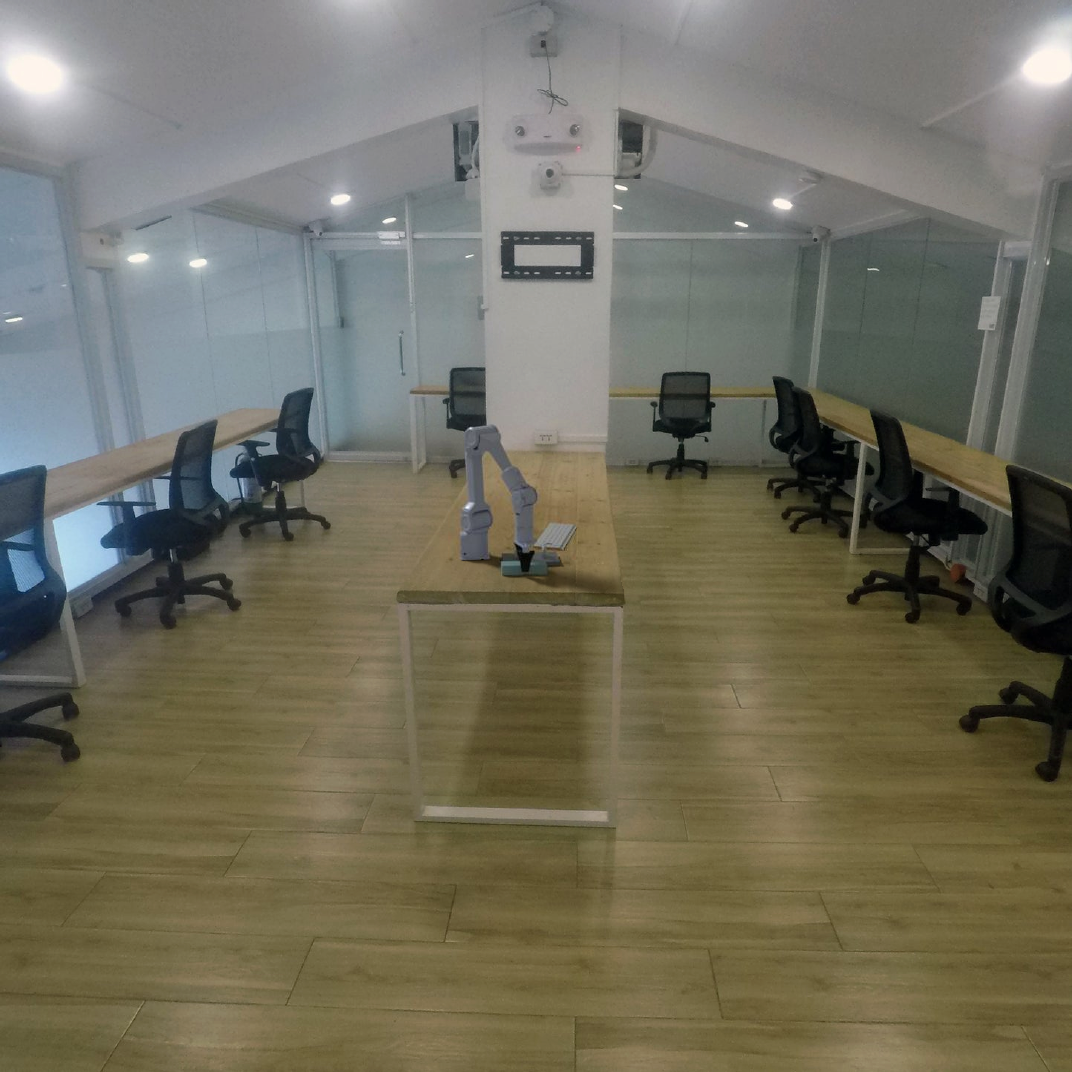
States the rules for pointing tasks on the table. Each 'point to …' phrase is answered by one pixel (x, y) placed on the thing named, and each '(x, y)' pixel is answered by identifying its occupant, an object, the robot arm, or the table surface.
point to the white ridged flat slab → (555, 536)
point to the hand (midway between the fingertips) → (524, 567)
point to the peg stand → (535, 556)
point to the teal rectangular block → (515, 567)
